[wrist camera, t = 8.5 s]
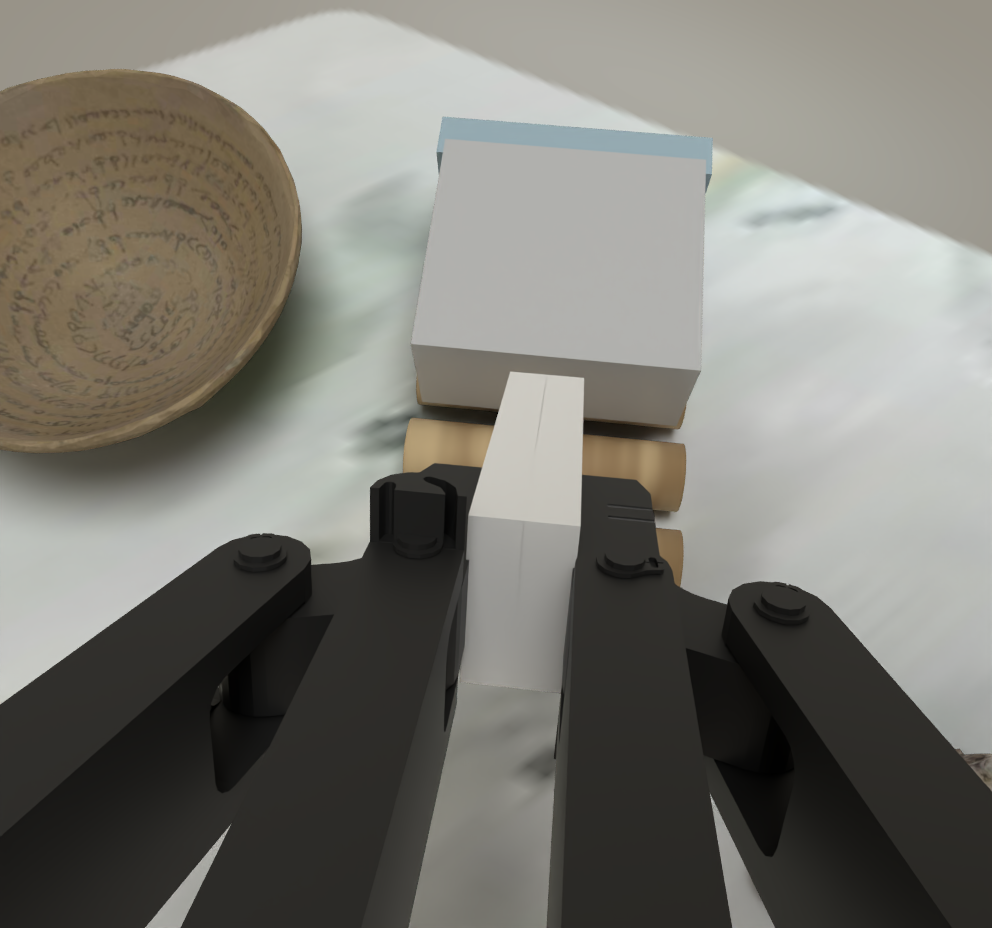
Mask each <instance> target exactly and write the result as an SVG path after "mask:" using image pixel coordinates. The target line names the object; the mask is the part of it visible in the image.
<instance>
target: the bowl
mask: <svg viewBox="0 0 992 928" xmlns="http://www.w3.org/2000/svg"><path fill="white" fill-rule="evenodd" d="M301 243H302V225H301V213H300V205H299V200H298V196H297V191H296V187H295V183H294V180H293V178H292V175H291V173H290V171H289V168H288V166H287V164H286V162H285V160H284V158H283V155H282V153H281V151H280V149H279V148H278V146H277V145H276V144H275V142H274V141H273V140H272V139H271V137H270V136H269V135H268V133H267V132H266V131H265V129H264V128H263V127H262V126H261V125H260V124H259V123H258V122H257V121H256V120H255V119H254V118H253V117H251V116H250V115H249V114H248V113H247V112H246V111H244V110H243V109H242V108H241V107H239V106H238V105H236V104H234V103H233V102H231V101H229V100H228V99H226V98H224V97H222V96H220V95H219V94H217V93H215V92H213V91H211V90H209V89H207V88H205V87H203V86H201V85H199V84H196V83H194V82H191V81H188V80H185V79H181V78H178V77H175V76H171V75H166V74H161V73H155V72H146V71H137V70H127V69H109V70H98V71H97V70H95V71H81V72H73V73H65V74H61V75H56V76H52V77H47V78H42V79H37V80H34V81H31V82H27V83H23V84H19V85H16V86H13V87H10V88H7V89H5V90H3V91H1V92H0V450H7V451H14V452H26V453H61V452H74V451H83V450H89V449H94V448H100V447H104V446H107V445H111V444H115V443H119V442H123V441H126V440H130V439H133V438H136V437H140V436H142V435H144V434H147V433H149V432H151V431H153V430H155V429H158V428H160V427H162V426H164V425H166V424H168V423H169V422H171V421H173V420H175V419H177V418H179V417H181V416H183V415H184V414H186V413H188V412H190V411H193V410H195V409H197V408H200V407H201V406H203V405H204V404H205V403H206V402H207V401H208V400H209V399H210V398H212V397H213V396H214V395H215V394H216V393H217V392H218V391H219V390H220V389H221V388H222V387H224V386H225V385H226V384H227V383H228V382H229V381H230V380H231V379H232V378H233V377H234V376H235V375H236V374H237V373H238V372H239V371H240V370H241V369H242V368H243V367H244V366H245V365H246V364H247V363H248V361H249V360H250V359H251V358H252V356H253V355H254V354H255V353H256V351H257V350H258V349H259V347H260V346H261V345H262V343H263V342H264V341H265V339H266V338H267V336H268V335H269V333H270V331H271V330H272V328H273V327H274V325H275V323H276V321H277V320H278V318H279V316H280V315H281V312H282V310H283V308H284V305H285V303H286V301H287V299H288V296H289V293H290V291H291V288H292V285H293V282H294V279H295V275H296V271H297V267H298V262H299V256H300V249H301Z"/></svg>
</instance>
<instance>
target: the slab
mask: <svg viewBox="0 0 992 928" xmlns="http://www.w3.org/2000/svg"><path fill="white" fill-rule="evenodd" d="M705 182H706V160H703V159H690V158H678V157H666V156H653V155H641V154H628V153H616V152H603V151H591V150H578V149H566V148H553V147H541V146H528V145H516V144H503V143H491V142H479V141H466V140H454V139H445V143H444V149H443V155H442V161H441V167H440V173H439V178H438V184H437V190H436V196H435V202H434V208H433V214H432V220H431V226H430V232H429V238H428V244H427V250H426V256H425V262H424V268H423V273H422V279H421V285H420V291H419V297H418V303H417V309H416V315H415V321H414V327H413V333H412V339H411V348H412V353H413V358H414V363H415V368H416V373H417V378H418V383H419V388H420V393H421V398H422V402H429V403H439V404H450V405H460V406H471V407H481V408H492V409H500V405H501V402H502V398H503V395H504V392H505V388H506V385H507V381H508V378H509V375H510V372H521V373H533V374H545V375H556V376H568V377H579V378H584V404H583V417H586V418H596V419H607V420H617V421H627V422H638V423H648V424H659V425H669V426H677V424H678V421H679V419H680V417H681V415H682V412H683V410H684V408H685V405H686V403H687V401H688V399H689V396H690V394H691V392H692V390H693V387H694V385H695V383H696V381H697V378H698V376H699V374H700V372H701V348H702V307H703V265H704V224H705Z"/></svg>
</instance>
